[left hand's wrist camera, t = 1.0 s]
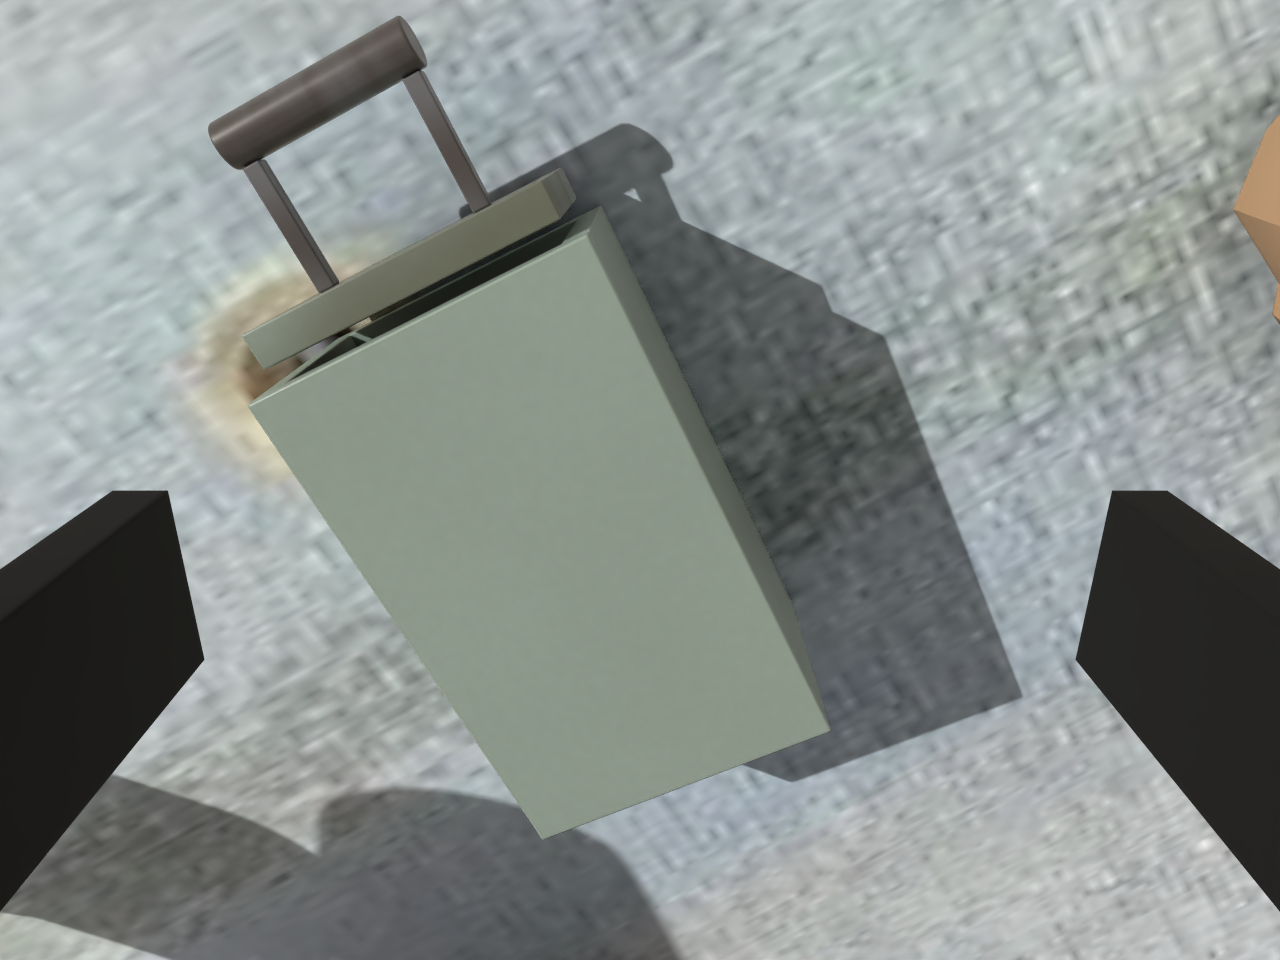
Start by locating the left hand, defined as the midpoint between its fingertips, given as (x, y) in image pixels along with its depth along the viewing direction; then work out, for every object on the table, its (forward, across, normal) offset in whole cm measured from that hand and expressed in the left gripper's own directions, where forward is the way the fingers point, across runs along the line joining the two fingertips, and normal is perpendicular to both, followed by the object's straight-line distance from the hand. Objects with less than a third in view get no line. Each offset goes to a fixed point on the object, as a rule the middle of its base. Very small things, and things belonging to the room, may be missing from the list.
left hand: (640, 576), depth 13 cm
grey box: (+22, +2, +8) cm, 24 cm away
